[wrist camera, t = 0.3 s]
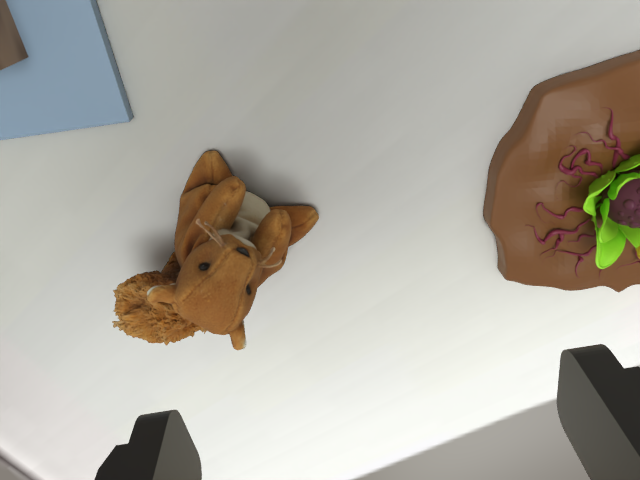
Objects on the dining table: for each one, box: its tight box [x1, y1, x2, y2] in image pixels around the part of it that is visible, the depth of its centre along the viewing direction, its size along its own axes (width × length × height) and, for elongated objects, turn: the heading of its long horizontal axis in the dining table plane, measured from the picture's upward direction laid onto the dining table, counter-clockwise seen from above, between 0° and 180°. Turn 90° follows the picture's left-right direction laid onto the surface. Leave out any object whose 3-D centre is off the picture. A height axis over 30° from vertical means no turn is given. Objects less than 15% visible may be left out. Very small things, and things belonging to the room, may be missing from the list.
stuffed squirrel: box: [113, 151, 319, 350], centre depth 36 cm, size 10×14×13 cm
